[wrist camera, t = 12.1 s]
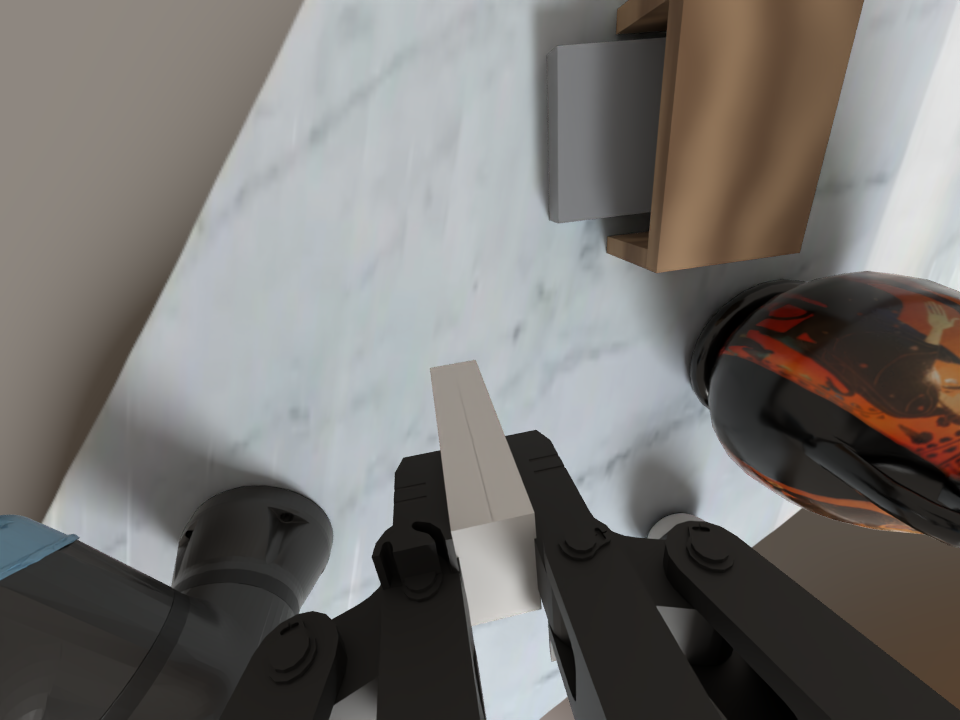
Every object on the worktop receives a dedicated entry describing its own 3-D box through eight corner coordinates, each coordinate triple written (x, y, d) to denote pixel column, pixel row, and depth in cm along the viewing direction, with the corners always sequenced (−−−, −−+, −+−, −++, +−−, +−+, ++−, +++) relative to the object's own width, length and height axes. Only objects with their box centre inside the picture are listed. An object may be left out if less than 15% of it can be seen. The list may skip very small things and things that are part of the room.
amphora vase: (871, 247, 42) (1556, 356, 17) (803, 418, 51) (1180, 652, 26) (684, 256, 39) (1176, 405, 14) (648, 436, 48) (904, 720, 23)
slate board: (547, 219, 36) (558, 223, 33) (544, 56, 31) (557, 45, 28) (710, 199, 37) (734, 201, 35) (734, 41, 32) (764, 29, 30)
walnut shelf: (606, 252, 38) (656, 273, 30) (617, 9, 30) (688, -48, 22) (723, 237, 39) (799, 252, 31) (763, -1, 31) (878, -59, 23)
